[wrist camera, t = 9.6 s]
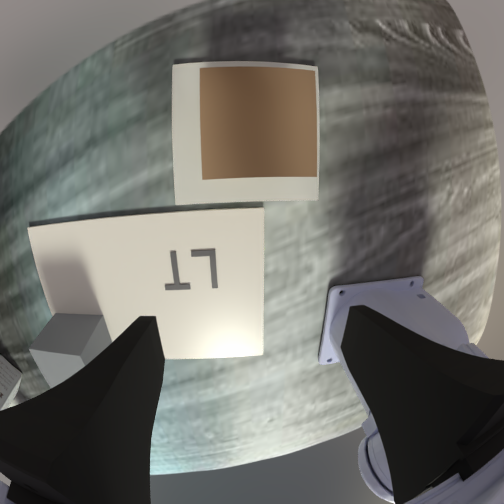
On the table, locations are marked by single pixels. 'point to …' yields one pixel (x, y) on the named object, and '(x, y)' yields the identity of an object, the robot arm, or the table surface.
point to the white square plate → (189, 148)
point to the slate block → (69, 345)
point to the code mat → (162, 276)
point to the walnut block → (258, 122)
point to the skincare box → (8, 382)
